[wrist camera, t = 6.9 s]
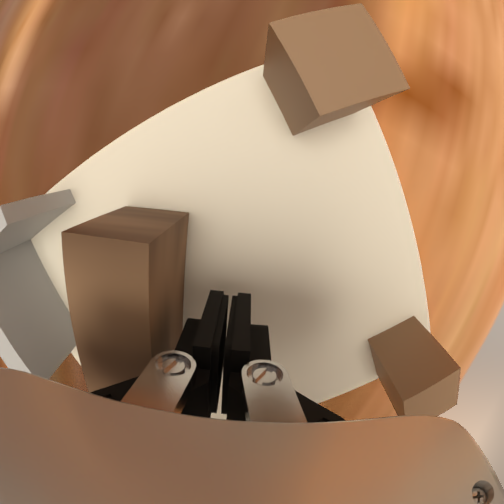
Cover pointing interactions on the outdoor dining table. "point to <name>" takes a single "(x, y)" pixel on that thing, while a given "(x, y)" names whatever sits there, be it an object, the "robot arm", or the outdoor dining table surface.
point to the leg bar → (125, 290)
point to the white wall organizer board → (261, 219)
